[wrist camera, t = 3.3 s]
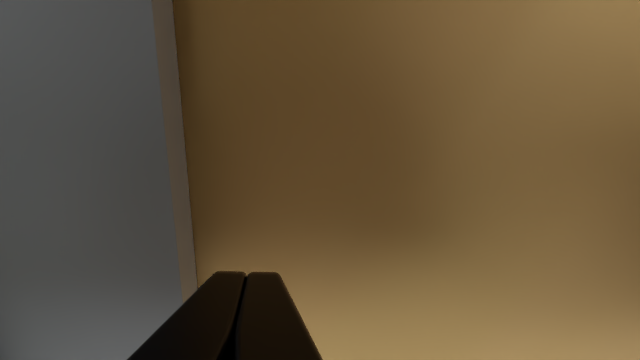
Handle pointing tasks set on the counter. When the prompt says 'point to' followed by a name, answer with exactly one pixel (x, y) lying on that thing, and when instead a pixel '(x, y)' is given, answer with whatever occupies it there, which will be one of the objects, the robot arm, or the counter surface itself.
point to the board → (90, 178)
